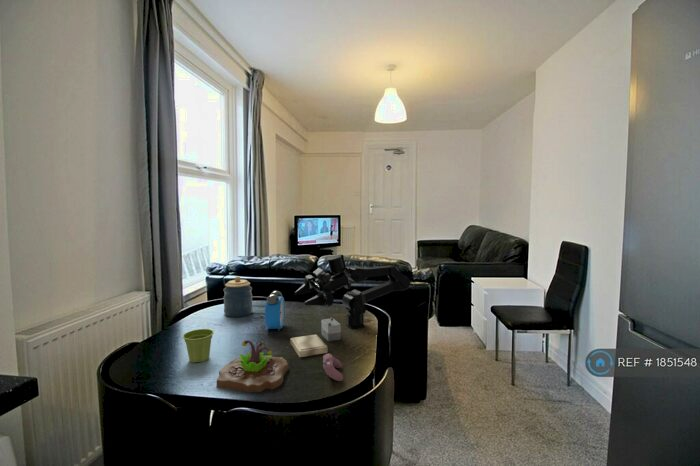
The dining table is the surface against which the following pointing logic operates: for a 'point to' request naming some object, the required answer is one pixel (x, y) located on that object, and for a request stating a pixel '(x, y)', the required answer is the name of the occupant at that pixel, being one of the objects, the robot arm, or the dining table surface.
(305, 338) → the beige tray
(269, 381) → the plant
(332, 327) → the box
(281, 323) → the alarm clock
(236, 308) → the canister
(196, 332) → the plant pot
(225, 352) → the dining table surface
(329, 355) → the video game controller
